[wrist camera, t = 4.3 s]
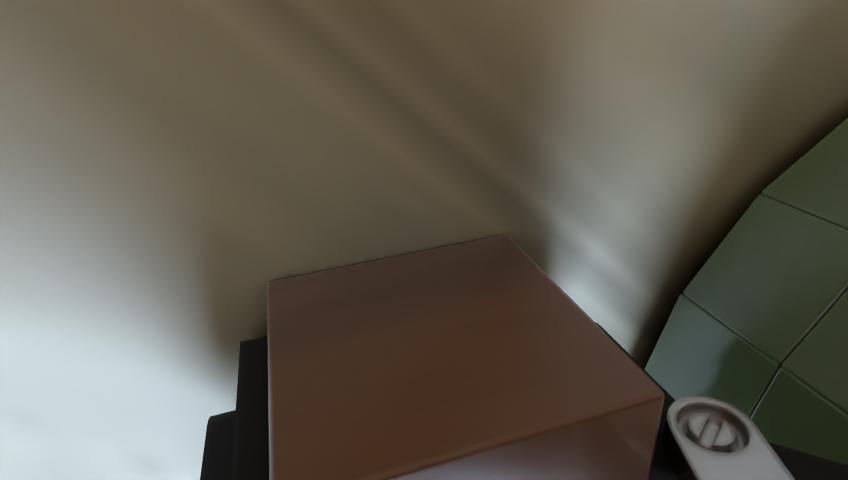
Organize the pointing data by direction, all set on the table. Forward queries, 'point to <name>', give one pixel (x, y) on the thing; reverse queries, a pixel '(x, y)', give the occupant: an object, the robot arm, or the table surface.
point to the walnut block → (450, 375)
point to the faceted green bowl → (774, 311)
